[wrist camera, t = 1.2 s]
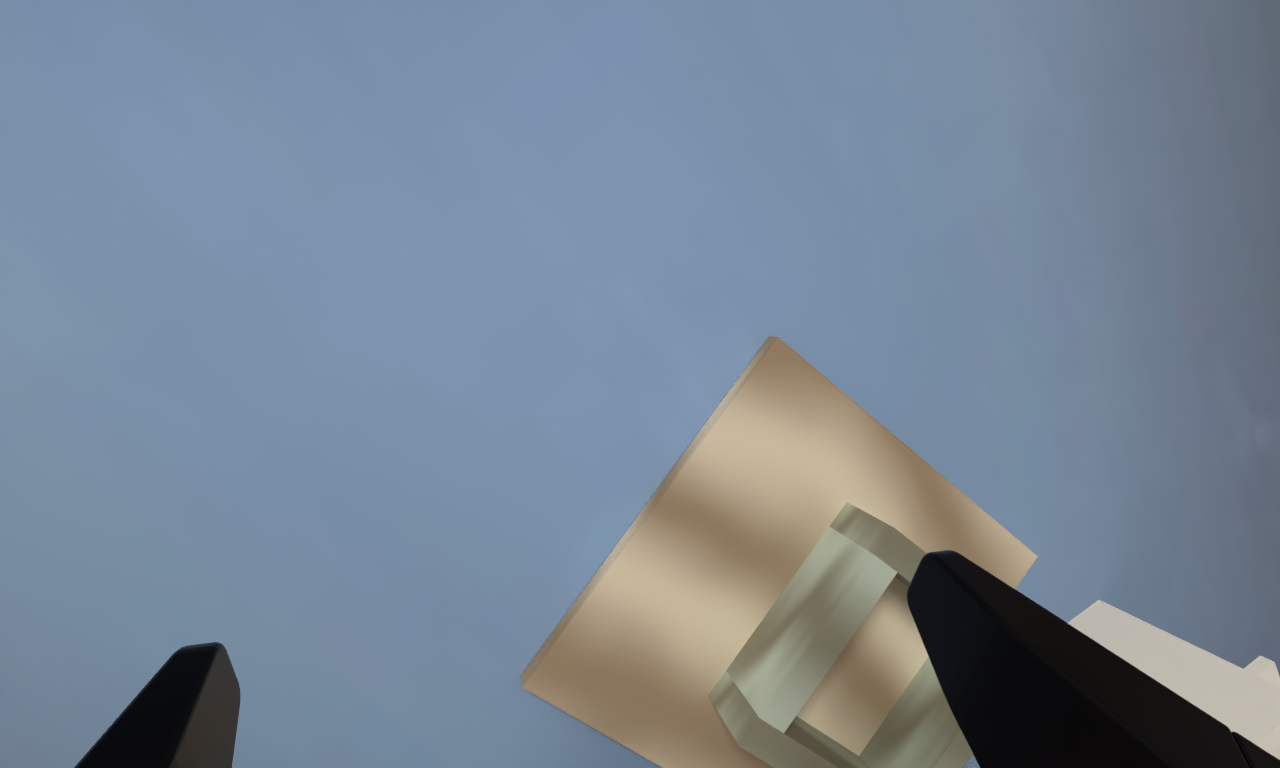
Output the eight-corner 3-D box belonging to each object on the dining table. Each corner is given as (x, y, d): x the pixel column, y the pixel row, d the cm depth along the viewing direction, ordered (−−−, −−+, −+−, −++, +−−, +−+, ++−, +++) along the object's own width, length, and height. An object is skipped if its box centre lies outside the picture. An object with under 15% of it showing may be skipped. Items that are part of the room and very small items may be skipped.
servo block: (1035, 732, 33) (1248, 895, 24) (1006, 668, 32) (1216, 813, 23) (1143, 649, 34) (1386, 776, 25) (1117, 585, 33) (1360, 693, 24)
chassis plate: (816, 846, 31) (867, 926, 27) (520, 676, 26) (531, 741, 22) (1023, 550, 31) (1102, 585, 28) (769, 336, 27) (820, 343, 23)
